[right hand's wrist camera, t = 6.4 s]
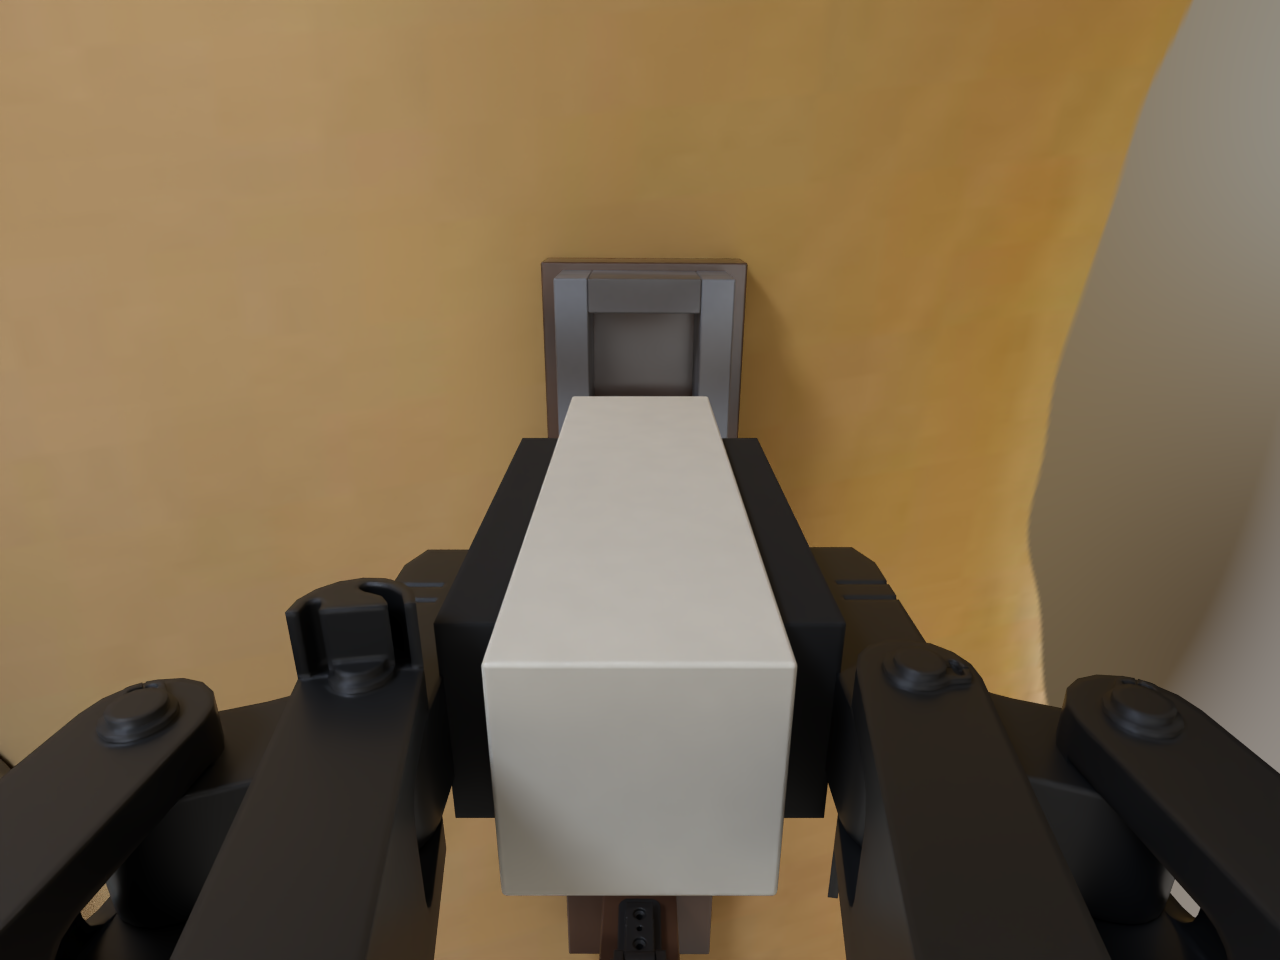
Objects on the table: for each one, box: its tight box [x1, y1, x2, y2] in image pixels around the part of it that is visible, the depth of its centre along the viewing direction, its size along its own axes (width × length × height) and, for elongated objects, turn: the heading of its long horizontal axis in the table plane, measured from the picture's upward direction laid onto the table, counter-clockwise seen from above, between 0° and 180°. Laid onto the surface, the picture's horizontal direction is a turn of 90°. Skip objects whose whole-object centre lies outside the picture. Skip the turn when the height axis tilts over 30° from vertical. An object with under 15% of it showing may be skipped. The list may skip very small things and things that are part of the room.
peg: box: [481, 396, 797, 896], centre depth 12 cm, size 3×3×10 cm
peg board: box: [541, 258, 747, 960], centre depth 34 cm, size 38×8×8 cm, turn 0°
